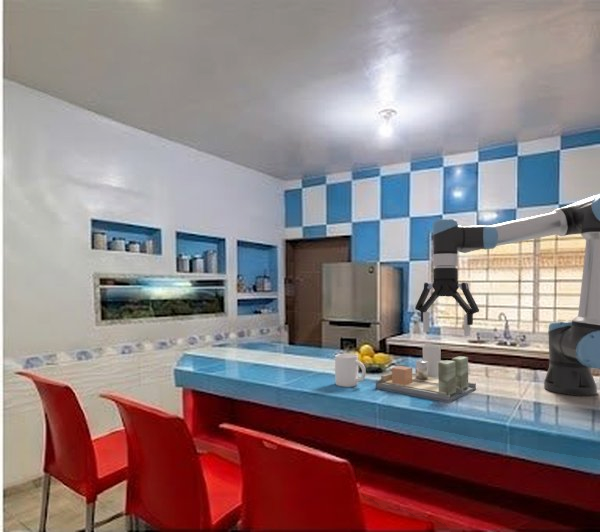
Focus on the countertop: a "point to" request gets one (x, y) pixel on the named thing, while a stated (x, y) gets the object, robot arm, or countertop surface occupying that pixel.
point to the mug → (348, 370)
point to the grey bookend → (432, 358)
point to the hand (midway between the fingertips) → (445, 333)
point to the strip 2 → (460, 372)
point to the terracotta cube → (402, 375)
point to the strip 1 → (445, 385)
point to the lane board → (426, 394)
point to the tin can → (421, 370)
